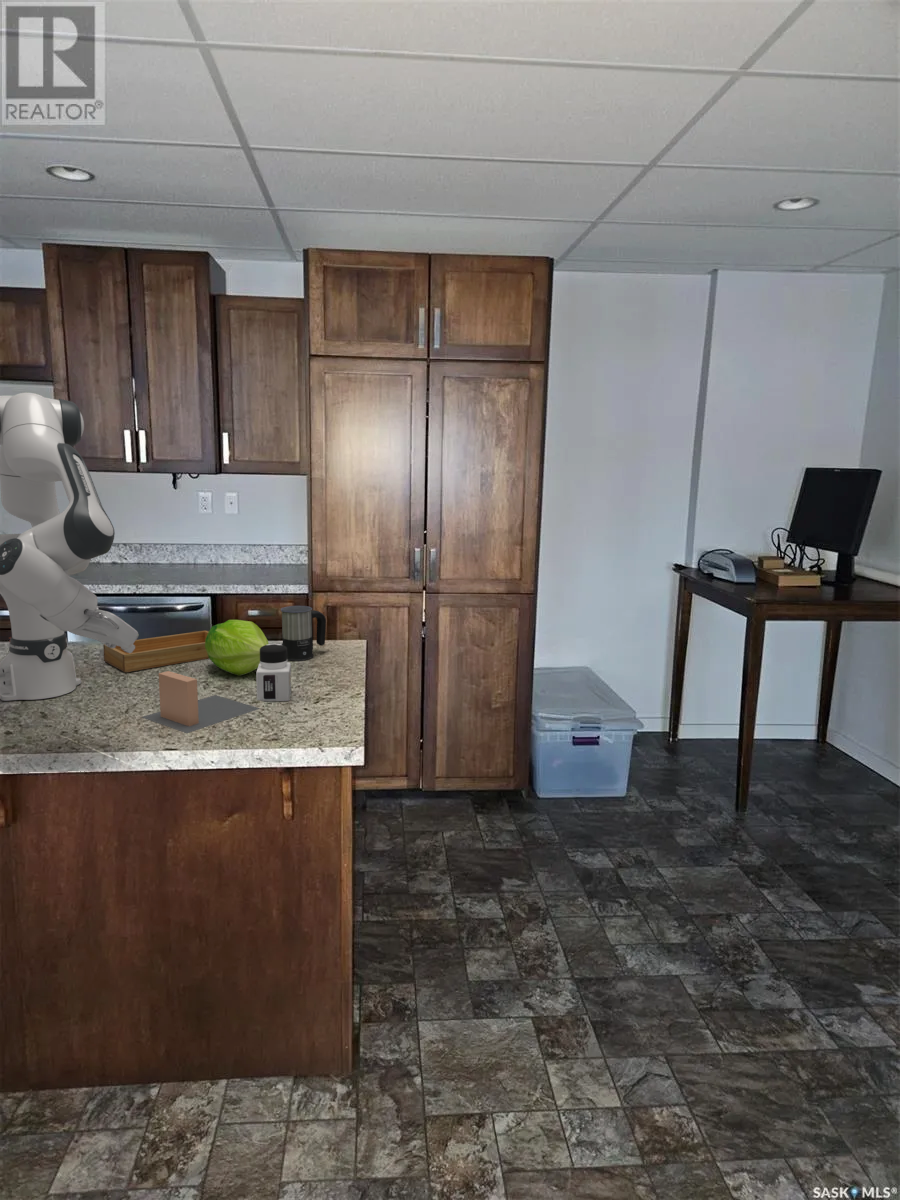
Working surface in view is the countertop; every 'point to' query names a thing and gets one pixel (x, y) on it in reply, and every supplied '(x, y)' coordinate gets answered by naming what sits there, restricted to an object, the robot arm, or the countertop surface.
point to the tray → (159, 651)
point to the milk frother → (301, 631)
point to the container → (273, 674)
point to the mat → (207, 713)
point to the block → (178, 698)
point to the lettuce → (235, 646)
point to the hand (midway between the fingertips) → (122, 647)
